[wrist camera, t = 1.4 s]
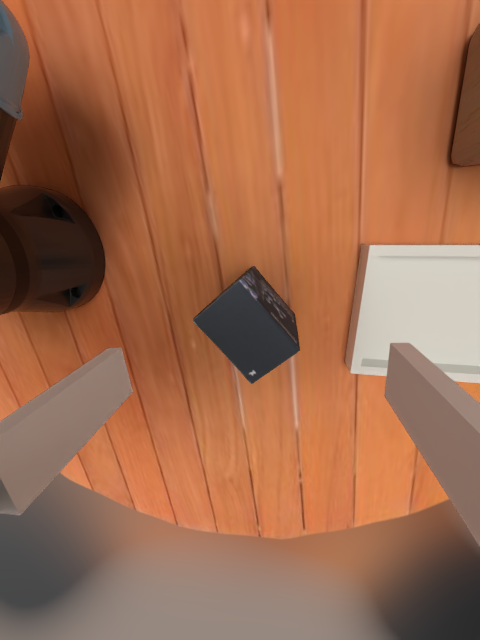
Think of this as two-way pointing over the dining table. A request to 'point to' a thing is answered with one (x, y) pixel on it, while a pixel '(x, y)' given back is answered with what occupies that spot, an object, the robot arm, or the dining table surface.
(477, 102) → the wooden block
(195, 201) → the dining table surface
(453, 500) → the robot arm
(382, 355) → the tray
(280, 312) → the box
